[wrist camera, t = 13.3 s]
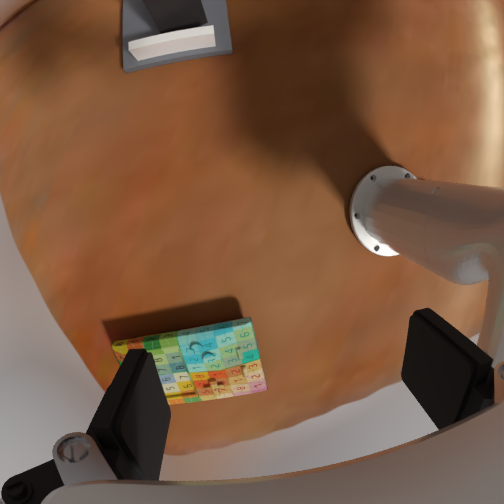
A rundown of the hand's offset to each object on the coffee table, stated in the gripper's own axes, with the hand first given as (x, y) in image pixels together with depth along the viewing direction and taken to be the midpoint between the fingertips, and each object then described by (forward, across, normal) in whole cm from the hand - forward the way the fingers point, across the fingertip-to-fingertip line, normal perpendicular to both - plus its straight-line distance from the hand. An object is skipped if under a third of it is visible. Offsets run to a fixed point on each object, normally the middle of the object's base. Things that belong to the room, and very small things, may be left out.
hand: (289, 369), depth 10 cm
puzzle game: (+31, +10, +19) cm, 37 cm away
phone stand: (+29, +7, -30) cm, 42 cm away
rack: (+30, +7, -30) cm, 43 cm away
